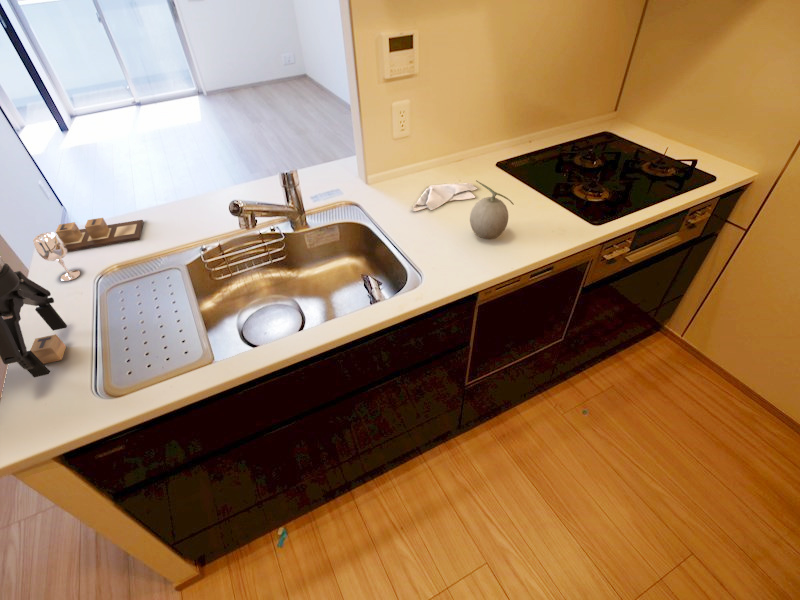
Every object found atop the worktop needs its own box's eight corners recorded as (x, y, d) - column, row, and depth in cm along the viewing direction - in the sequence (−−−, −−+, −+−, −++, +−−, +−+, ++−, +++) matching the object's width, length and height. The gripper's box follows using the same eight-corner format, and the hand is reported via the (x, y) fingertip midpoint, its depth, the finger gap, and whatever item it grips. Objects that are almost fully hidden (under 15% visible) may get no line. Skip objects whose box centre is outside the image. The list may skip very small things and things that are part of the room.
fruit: (509, 246, 119) (519, 198, 109) (468, 244, 120) (474, 197, 110) (506, 226, 127) (515, 179, 117) (467, 224, 128) (472, 178, 118)
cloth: (464, 178, 150) (465, 172, 148) (486, 196, 140) (487, 189, 139) (397, 195, 141) (397, 188, 140) (416, 214, 132) (416, 208, 131)
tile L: (63, 243, 121) (55, 231, 118) (66, 236, 124) (59, 224, 121) (78, 241, 122) (71, 229, 119) (82, 233, 124) (74, 221, 122)
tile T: (40, 364, 90) (28, 352, 87) (45, 350, 92) (34, 338, 90) (61, 360, 91) (50, 347, 88) (66, 346, 93) (56, 333, 91)
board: (54, 254, 119) (52, 251, 118) (63, 235, 126) (61, 232, 125) (139, 239, 124) (138, 236, 123) (143, 222, 131) (142, 219, 130)
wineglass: (57, 285, 109) (29, 246, 101) (58, 272, 113) (31, 234, 105) (82, 278, 111) (57, 240, 103) (83, 266, 115) (58, 228, 106)
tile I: (91, 238, 122) (84, 226, 120) (94, 231, 125) (87, 219, 123) (107, 236, 123) (100, 224, 121) (109, 229, 126) (102, 217, 123)
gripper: (-22, 314, 68) (55, 391, 82) (28, 232, 86) (84, 307, 100) (-77, 325, 67) (11, 402, 81) (-15, 239, 84) (48, 315, 99)
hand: (51, 350), depth 91 cm, fingers open, 13 cm apart
